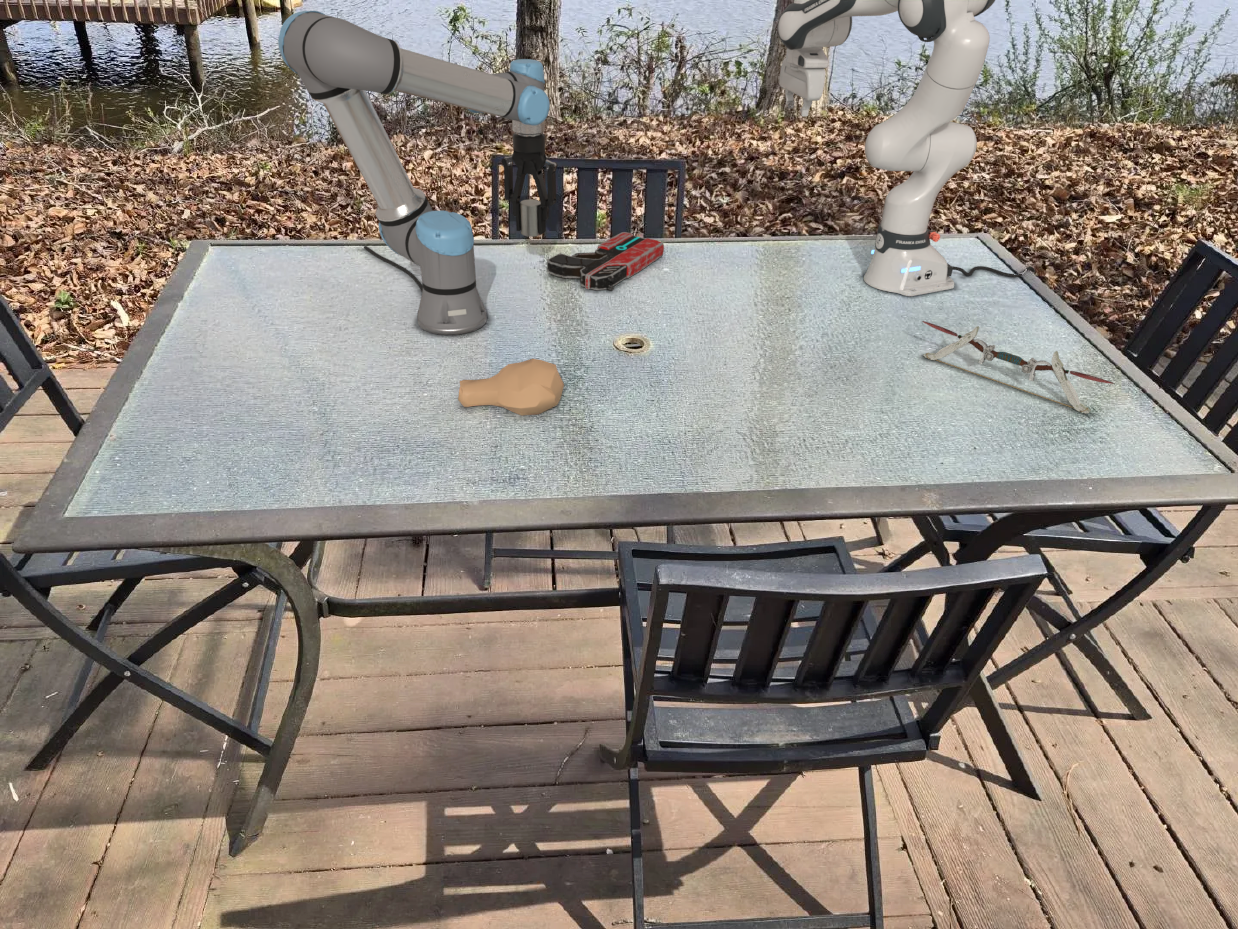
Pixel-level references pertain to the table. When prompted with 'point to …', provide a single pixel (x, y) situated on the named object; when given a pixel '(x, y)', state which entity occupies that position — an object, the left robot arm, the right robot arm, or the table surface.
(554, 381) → the squash
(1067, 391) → the bow
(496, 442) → the table surface
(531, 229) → the can
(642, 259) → the gun
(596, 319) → the table surface
